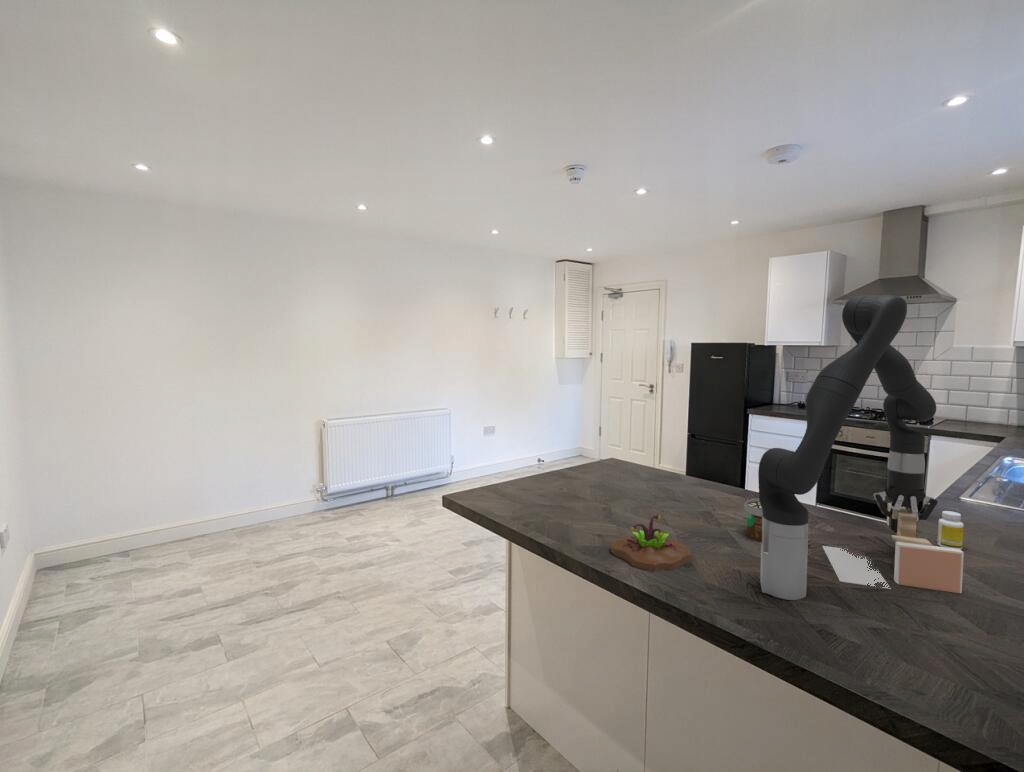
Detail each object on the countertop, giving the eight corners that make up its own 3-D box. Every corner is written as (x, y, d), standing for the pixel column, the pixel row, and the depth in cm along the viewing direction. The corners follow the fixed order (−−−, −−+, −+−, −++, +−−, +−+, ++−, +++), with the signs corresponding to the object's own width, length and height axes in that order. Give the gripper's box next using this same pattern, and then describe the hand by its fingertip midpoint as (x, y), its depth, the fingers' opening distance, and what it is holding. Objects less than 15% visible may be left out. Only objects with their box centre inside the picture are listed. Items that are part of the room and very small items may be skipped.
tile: (896, 585, 115) (898, 544, 114) (893, 581, 117) (895, 541, 116) (961, 595, 110) (964, 552, 109) (957, 591, 112) (959, 549, 111)
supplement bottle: (967, 551, 134) (969, 516, 133) (945, 549, 135) (947, 515, 134) (953, 543, 139) (955, 510, 138) (932, 542, 140) (934, 509, 139)
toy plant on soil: (705, 562, 130) (706, 521, 129) (648, 577, 121) (649, 534, 121) (654, 536, 148) (654, 501, 147) (601, 549, 140) (601, 510, 139)
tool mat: (840, 582, 117) (840, 581, 117) (822, 547, 138) (822, 545, 138) (891, 590, 113) (891, 588, 113) (864, 552, 134) (864, 551, 134)
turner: (877, 522, 137) (878, 502, 136) (908, 526, 134) (909, 504, 133) (902, 549, 118) (903, 525, 118) (938, 553, 116) (940, 529, 115)
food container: (748, 526, 154) (749, 495, 154) (770, 531, 150) (771, 499, 150) (738, 538, 145) (738, 505, 144) (760, 543, 141) (761, 509, 140)
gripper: (877, 469, 126) (874, 534, 128) (945, 474, 121) (942, 541, 122) (869, 463, 133) (866, 524, 135) (933, 467, 128) (930, 531, 129)
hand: (902, 532), depth 128 cm, fingers closed on turner, 3 cm apart
